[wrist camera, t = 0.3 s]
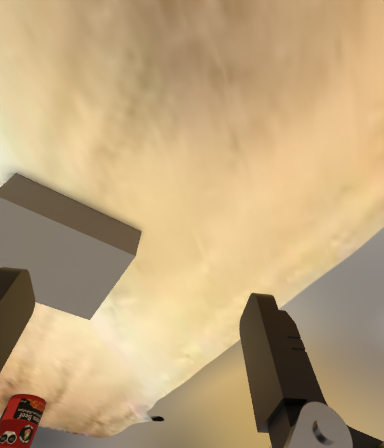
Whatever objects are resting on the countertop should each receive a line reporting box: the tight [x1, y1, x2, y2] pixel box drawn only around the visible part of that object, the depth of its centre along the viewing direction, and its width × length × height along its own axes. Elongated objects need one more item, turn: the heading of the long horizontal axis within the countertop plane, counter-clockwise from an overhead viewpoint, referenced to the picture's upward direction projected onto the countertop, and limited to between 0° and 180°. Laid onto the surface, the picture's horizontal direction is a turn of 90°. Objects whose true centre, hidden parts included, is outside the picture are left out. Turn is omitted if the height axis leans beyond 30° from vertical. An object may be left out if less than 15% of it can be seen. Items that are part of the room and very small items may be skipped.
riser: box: [0, 174, 141, 320], centre depth 32 cm, size 14×14×4 cm
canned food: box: [0, 394, 45, 448], centre depth 59 cm, size 8×8×11 cm
